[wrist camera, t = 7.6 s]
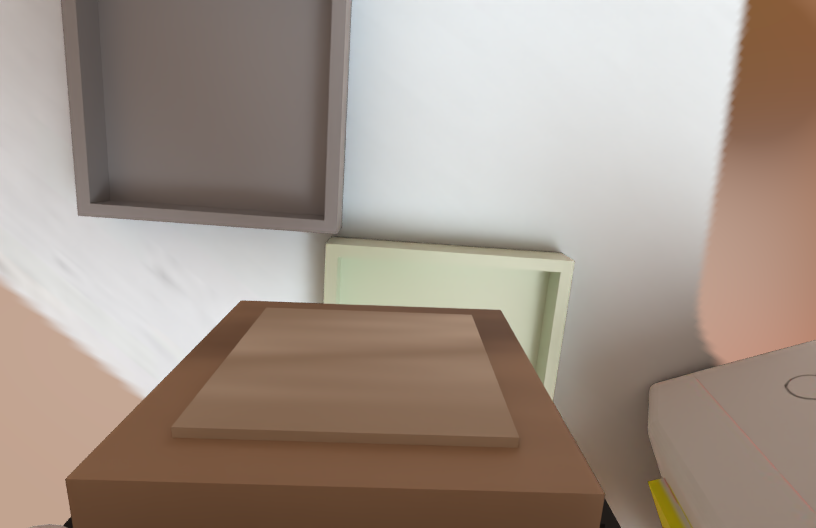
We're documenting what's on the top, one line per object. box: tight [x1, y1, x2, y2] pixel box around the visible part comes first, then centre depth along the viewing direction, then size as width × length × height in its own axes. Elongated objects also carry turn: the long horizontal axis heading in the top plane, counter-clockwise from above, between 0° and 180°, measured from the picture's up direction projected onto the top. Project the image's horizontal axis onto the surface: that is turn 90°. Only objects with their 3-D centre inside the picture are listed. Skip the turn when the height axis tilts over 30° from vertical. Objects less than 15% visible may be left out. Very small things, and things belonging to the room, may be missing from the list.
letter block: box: [65, 301, 605, 528], centre depth 9 cm, size 6×6×6 cm
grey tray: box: [61, 0, 352, 234], centre depth 22 cm, size 12×12×2 cm
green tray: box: [323, 236, 575, 401], centre depth 25 cm, size 12×12×2 cm
